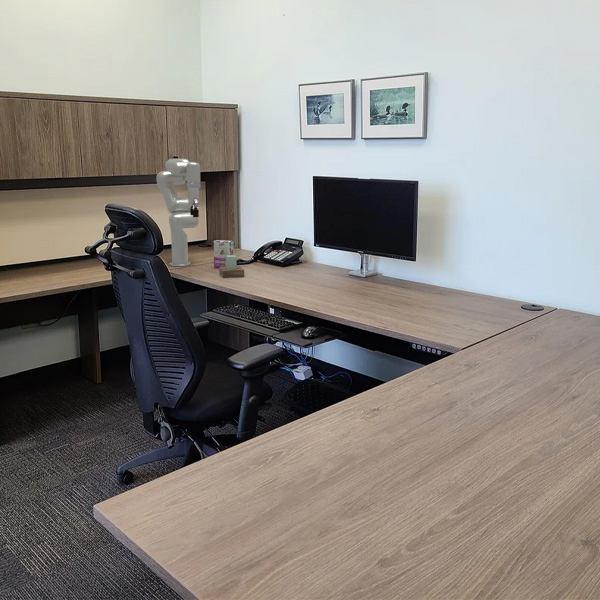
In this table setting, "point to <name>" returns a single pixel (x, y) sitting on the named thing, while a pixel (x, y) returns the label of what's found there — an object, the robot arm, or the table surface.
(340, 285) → the table surface
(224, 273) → the walnut block
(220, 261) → the candy bar box
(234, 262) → the sage block
